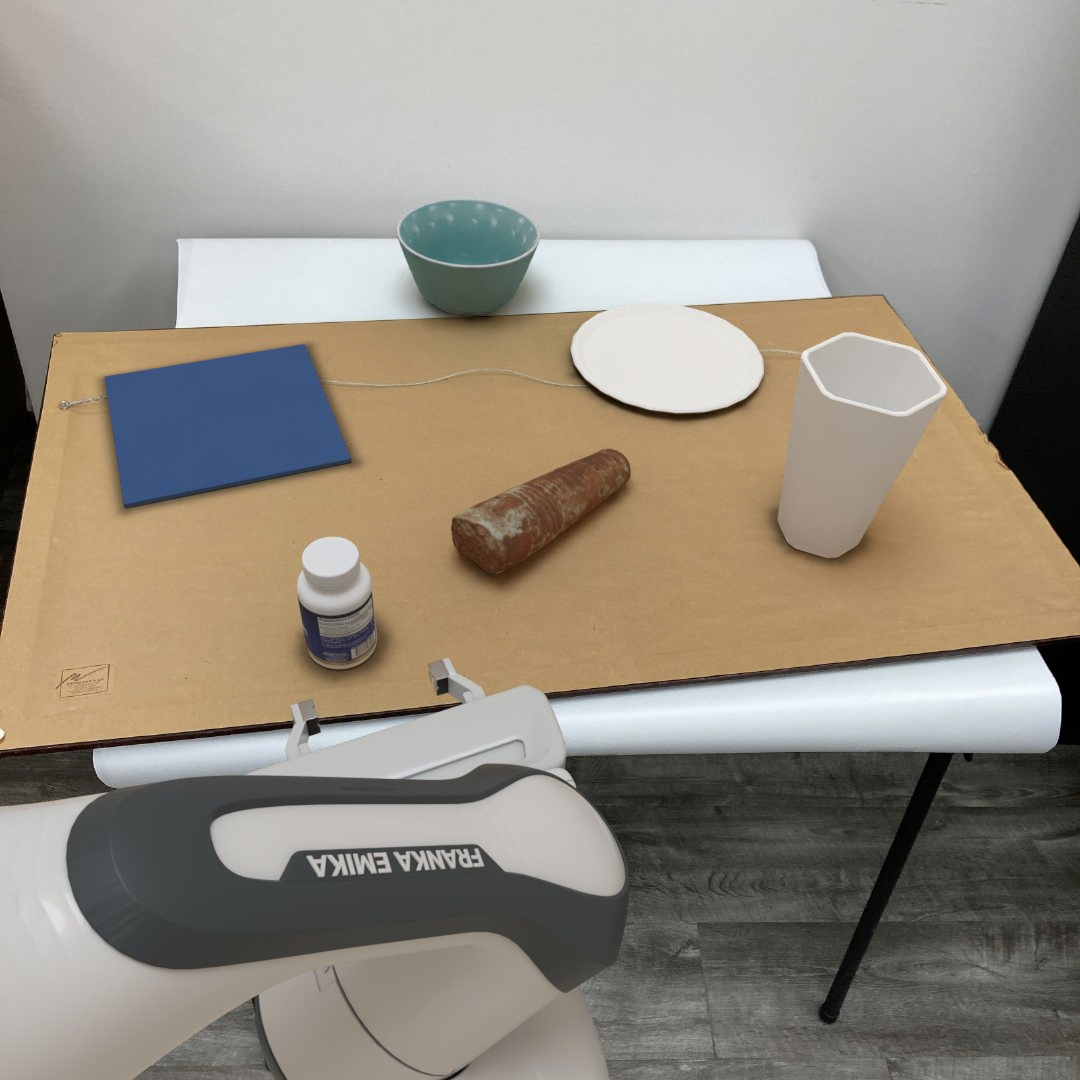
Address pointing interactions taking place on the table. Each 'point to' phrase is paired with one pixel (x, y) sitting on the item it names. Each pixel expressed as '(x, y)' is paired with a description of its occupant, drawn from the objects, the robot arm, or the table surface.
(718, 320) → the plate
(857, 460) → the cup
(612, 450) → the brown rounded cylinder
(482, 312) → the bowl
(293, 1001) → the robot arm
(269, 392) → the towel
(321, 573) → the pill bottle
